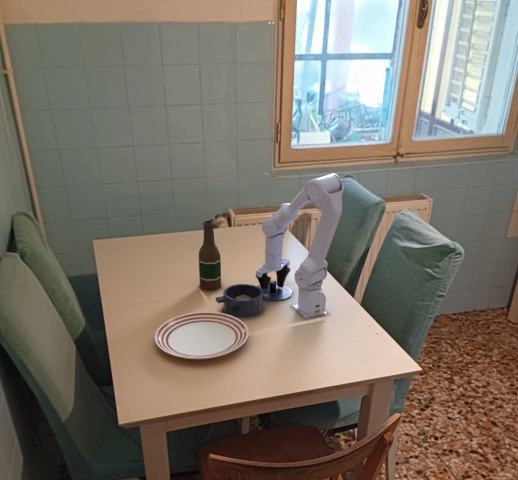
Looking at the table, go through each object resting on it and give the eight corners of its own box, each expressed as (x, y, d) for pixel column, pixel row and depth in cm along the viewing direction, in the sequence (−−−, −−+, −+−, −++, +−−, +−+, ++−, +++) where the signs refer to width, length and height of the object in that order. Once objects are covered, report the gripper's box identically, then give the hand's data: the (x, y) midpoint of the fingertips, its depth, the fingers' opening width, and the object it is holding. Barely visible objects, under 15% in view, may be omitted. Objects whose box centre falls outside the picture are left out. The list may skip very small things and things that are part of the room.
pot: (276, 313, 184) (276, 295, 181) (224, 323, 178) (223, 305, 174) (260, 297, 194) (260, 280, 190) (210, 306, 187) (209, 289, 184)
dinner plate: (143, 362, 158) (141, 352, 156) (169, 316, 181) (169, 307, 179) (240, 371, 155) (240, 361, 153) (254, 323, 178) (254, 314, 176)
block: (251, 308, 185) (251, 297, 183) (242, 312, 183) (242, 301, 181) (243, 304, 188) (243, 293, 186) (234, 308, 185) (234, 297, 183)
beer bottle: (218, 293, 196) (216, 226, 183) (196, 291, 197) (193, 224, 185) (224, 284, 202) (222, 219, 190) (203, 282, 204) (200, 217, 191)
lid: (299, 299, 193) (299, 286, 191) (262, 306, 188) (263, 293, 186) (281, 283, 204) (281, 271, 201) (246, 289, 199) (246, 277, 196)
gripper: (279, 244, 195) (278, 280, 202) (249, 255, 186) (249, 292, 193) (295, 249, 191) (293, 286, 198) (265, 261, 182) (264, 299, 189)
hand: (272, 290), depth 195 cm, fingers open, 7 cm apart
